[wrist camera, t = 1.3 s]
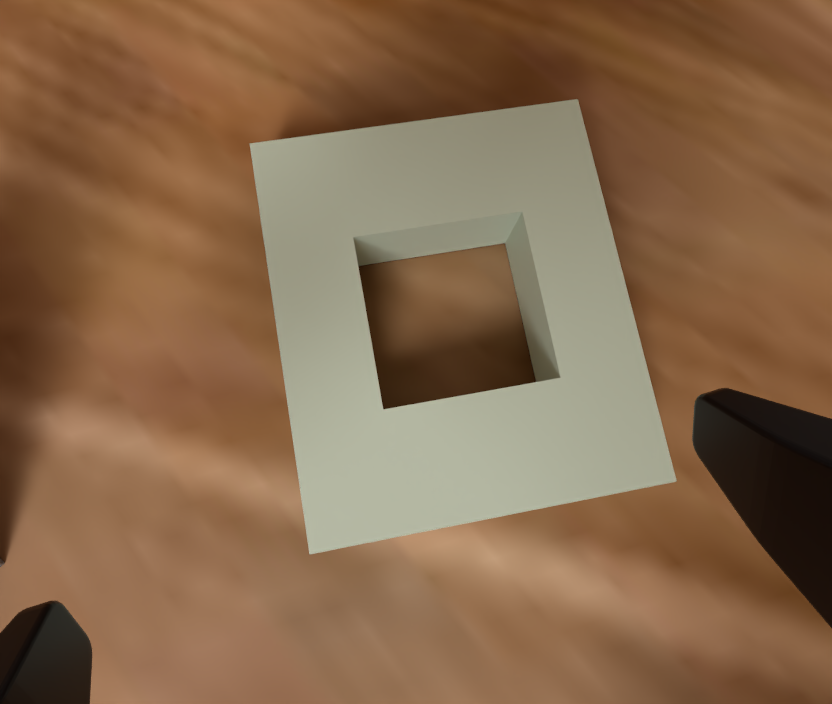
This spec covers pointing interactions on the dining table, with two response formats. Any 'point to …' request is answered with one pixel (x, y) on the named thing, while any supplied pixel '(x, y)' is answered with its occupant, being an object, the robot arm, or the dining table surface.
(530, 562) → the dining table surface
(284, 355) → the slotted base
